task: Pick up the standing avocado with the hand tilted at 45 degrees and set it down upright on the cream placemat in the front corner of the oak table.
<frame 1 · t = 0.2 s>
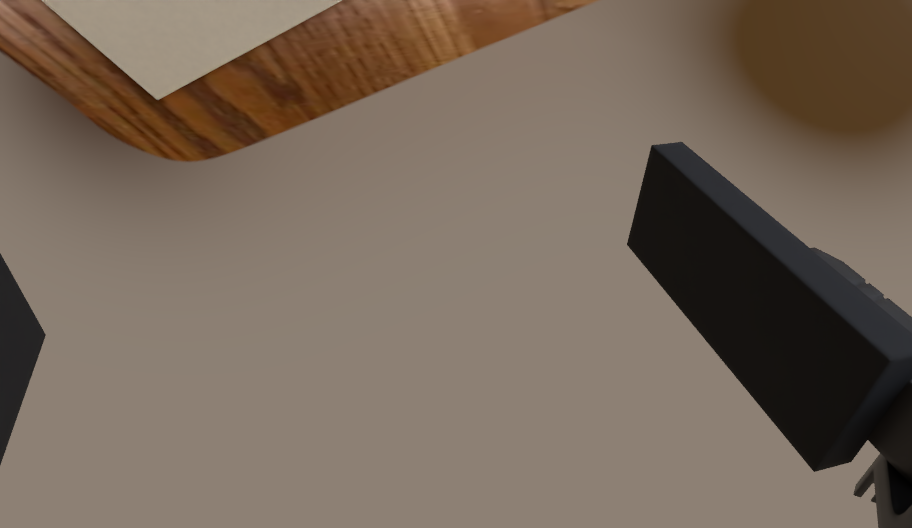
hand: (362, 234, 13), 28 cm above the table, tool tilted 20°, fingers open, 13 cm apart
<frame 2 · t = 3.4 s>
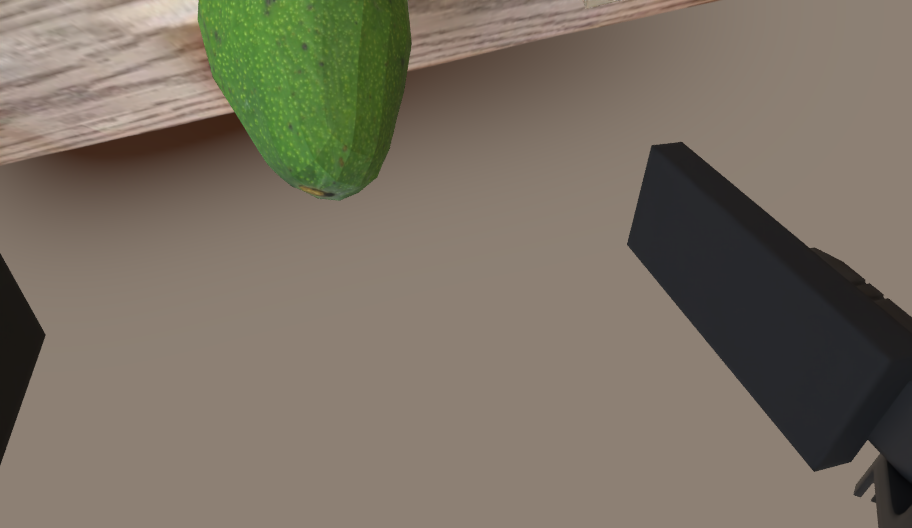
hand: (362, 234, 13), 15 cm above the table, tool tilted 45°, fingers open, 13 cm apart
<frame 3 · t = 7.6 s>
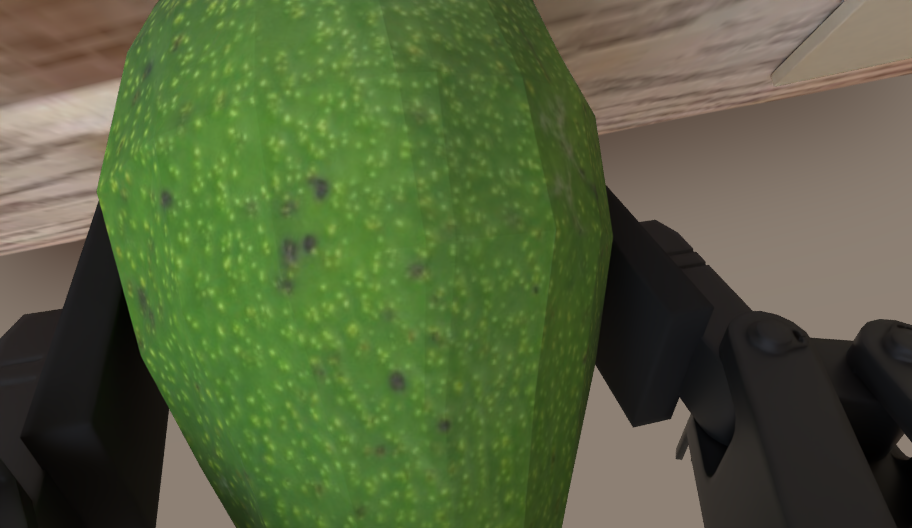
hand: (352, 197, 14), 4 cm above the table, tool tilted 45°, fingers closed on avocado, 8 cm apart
when the fingers open (4 cm above the table, at t = 16.7 s): avocado stays where it is, resting on corner mat.
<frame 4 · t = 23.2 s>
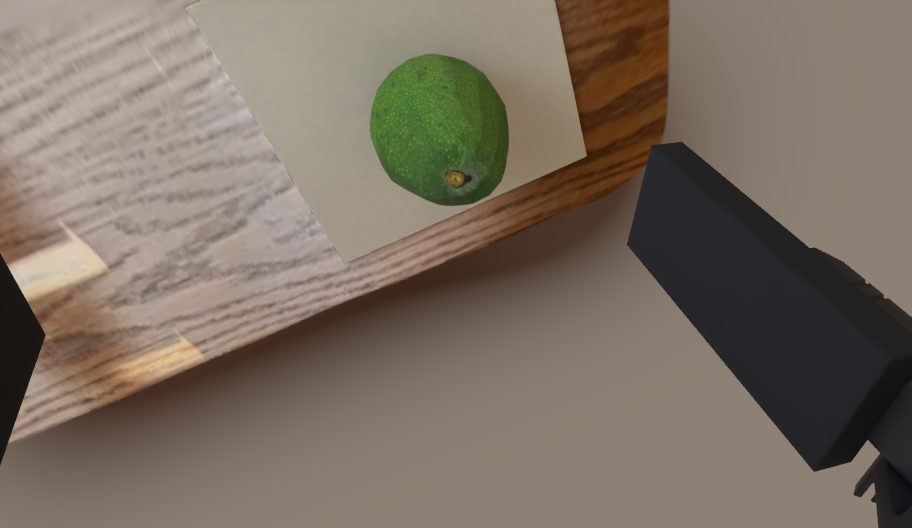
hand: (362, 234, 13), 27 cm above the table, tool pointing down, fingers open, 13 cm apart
corner mat: (418, 92, 40), on the table
avocado: (418, 93, 39), resting on corner mat
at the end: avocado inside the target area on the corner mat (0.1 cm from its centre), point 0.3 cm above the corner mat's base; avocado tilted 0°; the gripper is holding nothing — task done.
